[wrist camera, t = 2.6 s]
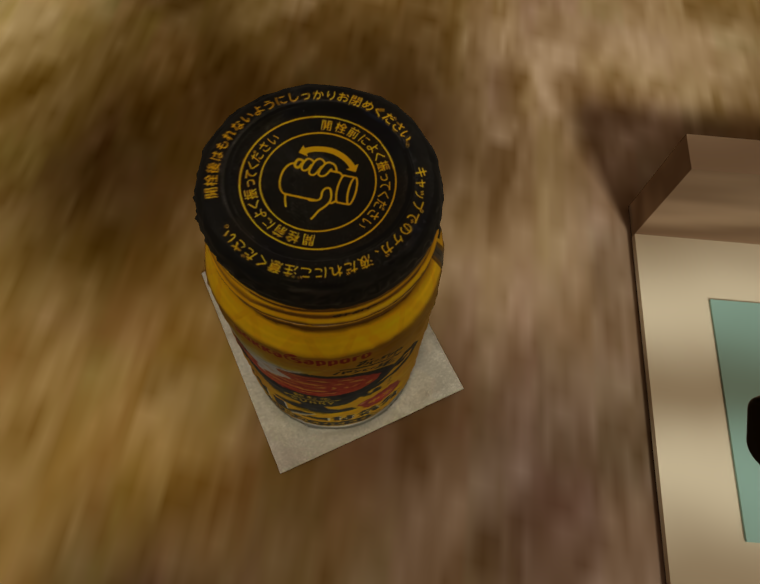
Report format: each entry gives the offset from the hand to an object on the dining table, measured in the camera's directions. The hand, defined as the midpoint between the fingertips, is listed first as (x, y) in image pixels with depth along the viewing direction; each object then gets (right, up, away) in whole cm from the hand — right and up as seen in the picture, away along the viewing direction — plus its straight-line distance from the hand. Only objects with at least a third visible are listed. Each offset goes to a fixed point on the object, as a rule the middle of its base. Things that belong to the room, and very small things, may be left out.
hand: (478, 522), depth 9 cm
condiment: (-3, +2, +15) cm, 16 cm away
